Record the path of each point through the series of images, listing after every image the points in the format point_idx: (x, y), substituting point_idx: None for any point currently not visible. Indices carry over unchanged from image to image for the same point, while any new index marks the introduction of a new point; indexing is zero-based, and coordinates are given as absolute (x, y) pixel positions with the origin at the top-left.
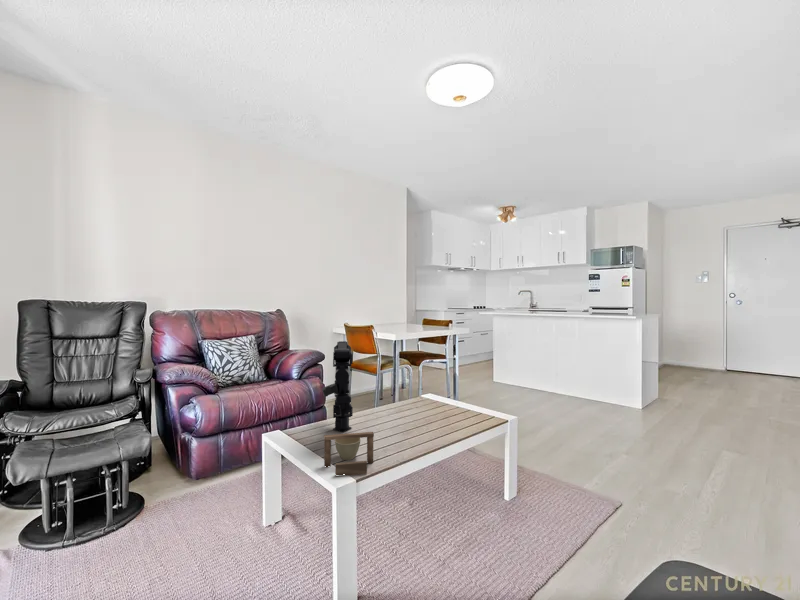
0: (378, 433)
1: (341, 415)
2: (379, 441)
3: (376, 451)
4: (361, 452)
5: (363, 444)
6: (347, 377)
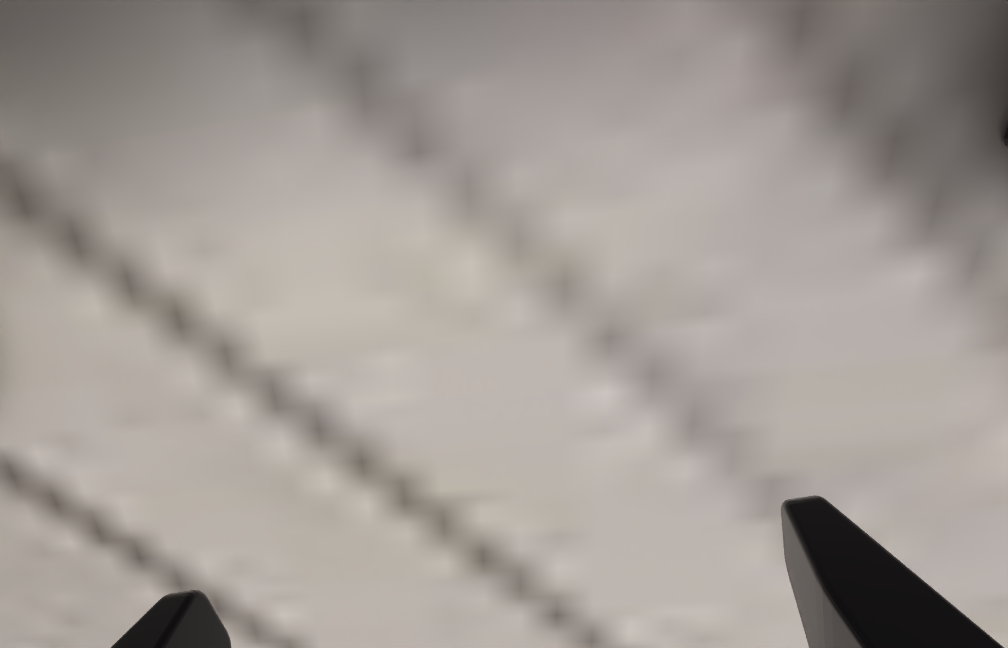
0: None
1: (144, 622)
2: (512, 643)
3: None
4: (108, 490)
5: (394, 492)
6: None
